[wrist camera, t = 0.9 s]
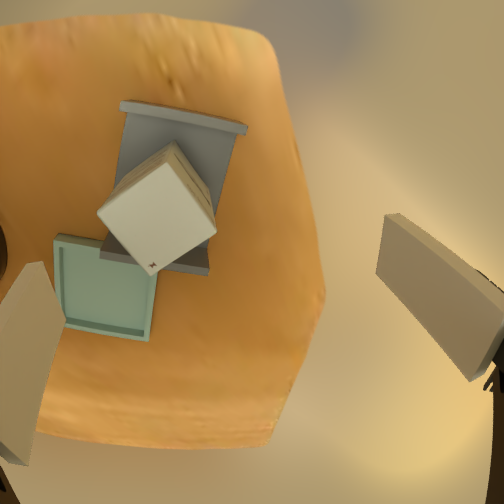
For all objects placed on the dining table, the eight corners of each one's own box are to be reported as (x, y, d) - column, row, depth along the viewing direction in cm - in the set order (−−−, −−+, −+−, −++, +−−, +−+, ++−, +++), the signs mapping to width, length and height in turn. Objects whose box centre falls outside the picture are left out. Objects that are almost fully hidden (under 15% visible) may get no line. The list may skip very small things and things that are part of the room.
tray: (62, 317, 41) (58, 325, 39) (58, 233, 35) (53, 240, 34) (149, 332, 45) (148, 341, 43) (160, 250, 39) (160, 258, 38)
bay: (108, 238, 37) (99, 258, 33) (130, 99, 30) (121, 100, 26) (205, 254, 41) (207, 276, 36) (240, 121, 34) (248, 125, 29)
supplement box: (210, 189, 37) (221, 235, 26) (158, 222, 38) (148, 280, 27) (175, 136, 33) (168, 159, 22) (122, 174, 34) (93, 214, 23)
